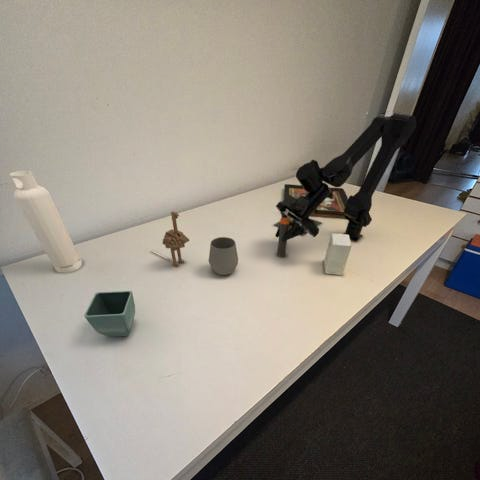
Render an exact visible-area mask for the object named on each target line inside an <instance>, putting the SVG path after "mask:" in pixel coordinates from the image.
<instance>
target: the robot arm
mask: <svg viewBox="0 0 480 480" xmlns="http://www.w3.org/2000/svg"><path fill="white" fill-rule="evenodd" d="M416 127H417V117H416V116H415V115H413V114H406V113H399V112H395V113H393V114H392V115H390V116H383V115H378V116H375V117H374V118H373V119H372V121H371V123H370V124H369V125H368V126H367V128H366V129H365V130H364V131H363V132H362V133H361V134H360V135H359V136H358V137H357V138H356V139H355V140H354V141H353V143H352V144H351V145H350V146H348V148H347V149H346V150H345V151H344V152H343V153H342V154H340V155H339V156H336V157H334V158H333V159H331V160H330V161H329V162H327V164H325V165H324V166H323V167H320V165H319V162H318V161H317V160H315V159H311V160H310V161H309V162H305V163H304V164H303V165H301V166H300V167H299V168H298V169H297V170H296V173H295V178H296V180H297V181H298V183H299V185H302V187H303V188H304V190H305V191H307V192H308V193H307V194H306V195H305V196H302V195H301V196H300V197H299V198H296V197H294V196H292V195H290V194H286V196H285V198H284V197H283V200H282V201H278V203H276V205H275V208H276V209H277V210H278V211H279V213H280V216H281V218H284V217H285V218H289V219H290V224H289V228H290V227H291V226H292V227H291V228H290V229H289V230H288V232H287V233H286V234H285V235H284V237H283V238H282V240H281V241H282V242H285V241H287V242H288V241H290V240H291V239H293V238H296V237H298V236H301V234H304V235H307V233H306V231H307V230H309V232H308V234H309V235H310V236H312V238H316V237H317V235H319V233H320V228H319V227H318V226H317V225H316V224H315V222H314V221H312V220H313V219H312V218H310V217H311V216H313V215H312V214H313V212H314V213H317V212H318V210H317V208H318V207H319V206H320V204H321V203H322V202H323V201H324V200H325V199H326V198H327V197H328V198H330V199H332V198H333V189H331V188H332V187H333V188H342V186H344V184H345V183H346V182H347V180H348V179H349V178H350V177H351V176H352V172H353V170H354V167H355V166H356V165H357V164H358V162H359V161H360V160H361V159H362V158H363V157H364V156H365V155H366V154H367V153H368V152H369V151H370V150H371V149H372V147H373V146H374V145H375V144H377V142H378V141H380V140H381V145H380V147H379V149H378V151H377V154H376V155H375V157H374V160H373V162H372V163H371V165H370V167H369V170H368V171H367V173H366V175H365V177H364V179H363V181H362V184H361V186H360V187H359V190H358V191H357V192H356V193H355V194H353V195H352V194H351V195H349V196H348V201H347V203H346V205H345V209H344V213H345V218H344V220H347V224H346V228H345V231H344V233H342V234H346V235H349V238H350V241H352V242H358V241H359V240H360V239H361V238H363V234H361V233H362V232H363V231H362V230H363V228H367V227H368V226H369V225H370V224H371V222H372V220H373V219H372V216H371V214H370V211H371V209H372V206H373V195H374V193H375V191H376V189H377V188H378V186H379V184H380V182H381V181H382V178H383V176H384V174H385V172H386V171H387V169H388V167H389V165H390V163H391V161H392V160H393V157H394V156H395V154H396V152H397V151H398V150H399V149H401V147H402V146H404V145H405V144H406V143H407V142H408V141H409V139H410V137H411V136H412V134H413V133H414V132H415V130H416ZM329 185H330V186H331V187H330V186H329ZM329 187H330V188H329ZM292 210H293V211H292ZM292 219H294V220H295V221H297V222H295V221H294V220H293V223H292V222H291V220H292ZM311 219H312V220H311ZM279 231H280V225H279V227H277V230H276V233H275V235H274V236H275V237H276V238H279Z"/></svg>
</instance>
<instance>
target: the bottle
mask: <svg viewBox="0 0 480 480" xmlns="http://www.w3.org/2000/svg"><path fill="white" fill-rule="evenodd" d="M9 176H10V178H11V179H12V181H13V183H14V185H15V187H16V189H15V190H14V193H13V198H14V200H15V202H16V204H17V205H18V207H19V209H20V210H21V212H22V214H23V216H24V218H25V219H26V221H27V222H28V224H29V226H30V228H31V230H32V231H33V233H34V235H35V237H36V238H37V240H38V242H39V244H40V245H41V247H42V249H43V250H44V252H45V254H46V256H47V258H48V259H49V261H50V263H51V264H52V266H53V268H54V270H55V271H56V272H57V273H59V274H60V273H61V274H68V273H72V272H75V271H77V270H78V269H80V268H81V267H82V266H83V261H82V260H81V257H80V255H79V253H78V251H77V249H76V247H75V244H74V243H73V240H72V238H71V236H70V234H69V232H68V230H67V227H66V226H65V224H64V221H63V220H62V217H61V215H60V213H59V210H58V209H57V207H56V205H55V203H54V200H53V198H52V196H51V194H50V192H49V191H48V189H47V188H45V187H44V186H42V185H39V184H38V183H37V180H36V179H35V177H34V174H33V173H32V171H31V170H25V169H24V170H16V171H13V172H11V173H9Z"/></svg>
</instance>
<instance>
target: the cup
mask: <svg viewBox="0 0 480 480" xmlns="http://www.w3.org/2000/svg"><path fill="white" fill-rule="evenodd" d="M237 249H238V248H237V244H236V241H235V239H233V238H230V237H227V236H220V237H216V238H213V239H212V240H211V241H210V245H209V253H208V263H209V265H210V267H211V269H212V270H213V272H214V273H215V274H217V275H219V276H228V275H230V274H232V273H233V272H234V271H235V269H236V268H237V266H238V264H239V255H238V251H237Z"/></svg>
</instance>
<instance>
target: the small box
mask: <svg viewBox="0 0 480 480" xmlns="http://www.w3.org/2000/svg"><path fill="white" fill-rule="evenodd" d="M351 250H352V243H351V240H350V238H349V235H346V234H343V233H337V232H336V233H334V232H331V233H330V237H329V241H328V244H327V249H326V252H325V256H324V259H323V264H324V266H323V267H324V274H327V275H328V274H329V275H338V276H342V275H343V273H344V270H345V267H346V264H347V262H348V258H349V256H350V252H351Z"/></svg>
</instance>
